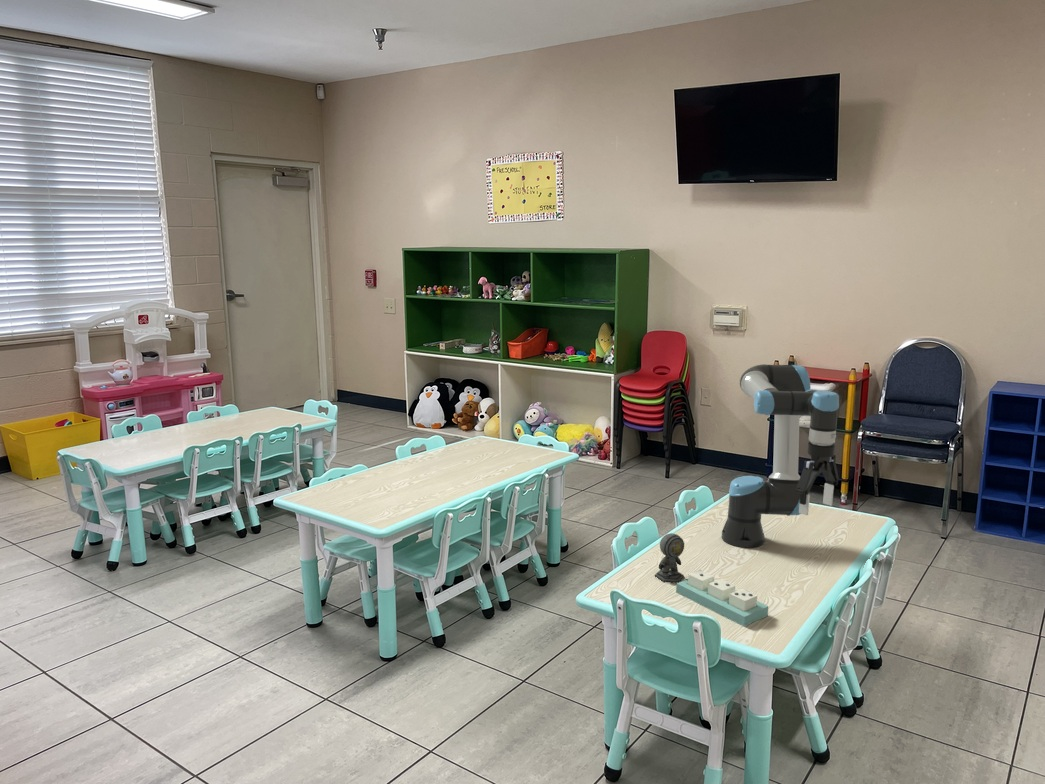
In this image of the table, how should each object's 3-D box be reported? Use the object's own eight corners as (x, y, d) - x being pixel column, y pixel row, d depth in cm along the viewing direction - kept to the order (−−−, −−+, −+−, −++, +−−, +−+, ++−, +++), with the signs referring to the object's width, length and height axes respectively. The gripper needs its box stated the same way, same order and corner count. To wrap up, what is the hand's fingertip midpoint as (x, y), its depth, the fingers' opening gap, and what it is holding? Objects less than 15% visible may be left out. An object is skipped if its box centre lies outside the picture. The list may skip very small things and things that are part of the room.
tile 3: (728, 606, 230) (729, 592, 229) (740, 601, 233) (741, 587, 232) (744, 613, 225) (745, 600, 224) (756, 608, 229) (757, 595, 228)
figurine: (668, 585, 248) (670, 541, 245) (649, 573, 256) (651, 530, 253) (689, 580, 252) (691, 536, 248) (670, 568, 260) (672, 526, 257)
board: (676, 592, 243) (676, 583, 242) (699, 583, 249) (700, 574, 249) (743, 626, 223) (744, 616, 222) (767, 615, 229) (768, 606, 228)
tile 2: (707, 595, 236) (708, 583, 235) (719, 591, 239) (720, 578, 238) (722, 603, 232) (723, 589, 231) (734, 597, 235) (735, 585, 234)
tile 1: (687, 586, 242) (688, 573, 242) (699, 581, 246) (700, 569, 245) (701, 592, 238) (702, 580, 237) (713, 588, 241) (714, 575, 240)
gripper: (810, 452, 224) (804, 521, 228) (854, 438, 239) (848, 503, 244) (787, 446, 230) (781, 514, 234) (832, 433, 245) (826, 497, 249)
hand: (815, 509), depth 239 cm, fingers open, 13 cm apart
